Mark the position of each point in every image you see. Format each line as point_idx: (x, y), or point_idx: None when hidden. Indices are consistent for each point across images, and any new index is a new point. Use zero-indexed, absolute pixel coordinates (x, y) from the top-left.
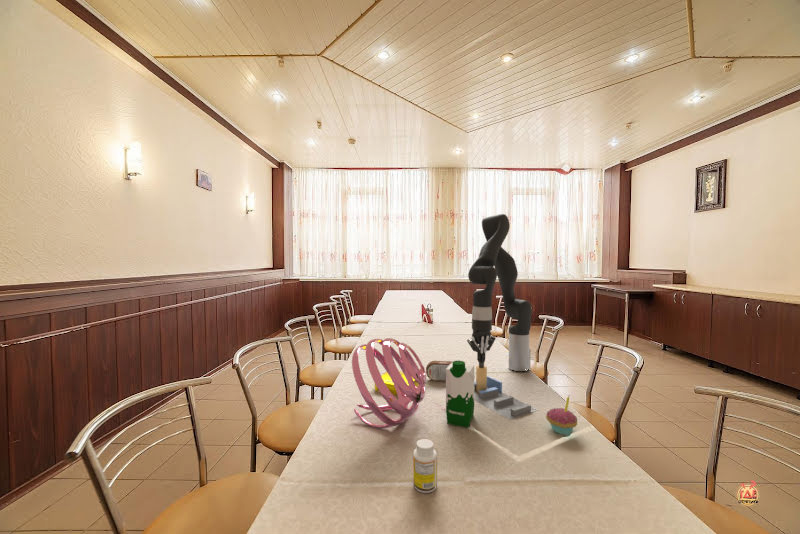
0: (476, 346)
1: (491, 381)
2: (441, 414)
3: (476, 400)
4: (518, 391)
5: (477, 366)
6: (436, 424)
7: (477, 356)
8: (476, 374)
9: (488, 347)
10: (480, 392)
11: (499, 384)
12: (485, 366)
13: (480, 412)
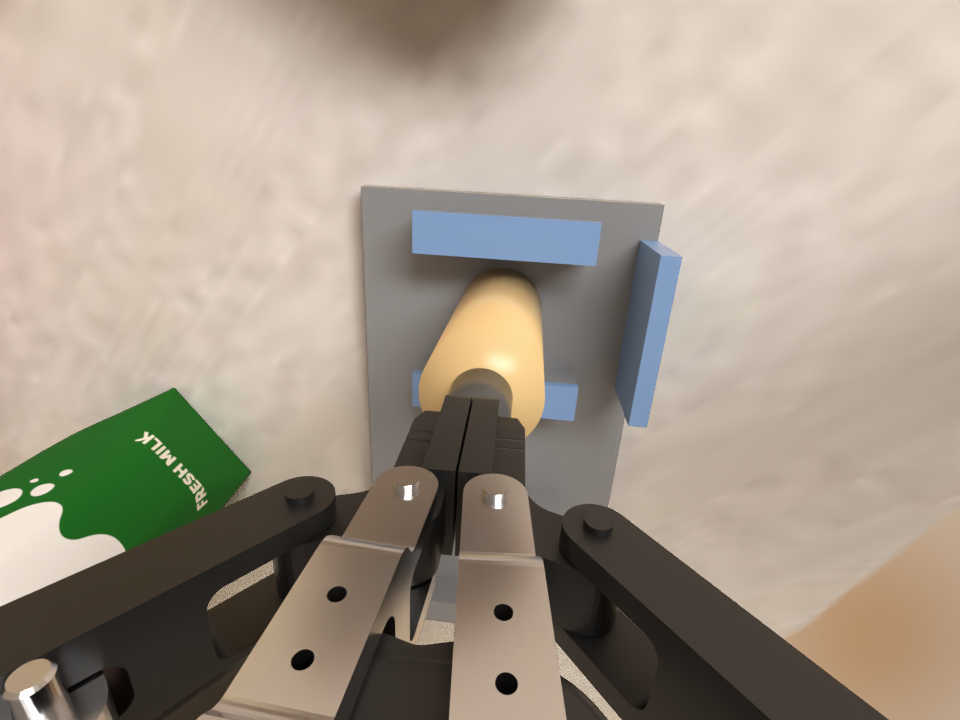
0: (205, 682)
1: (642, 315)
2: (112, 355)
3: (376, 376)
4: (779, 408)
5: (456, 356)
6: (50, 415)
7: (404, 446)
8: (439, 339)
9: (577, 658)
10: (412, 388)
11: (625, 406)
12: (538, 410)
13: (325, 454)
